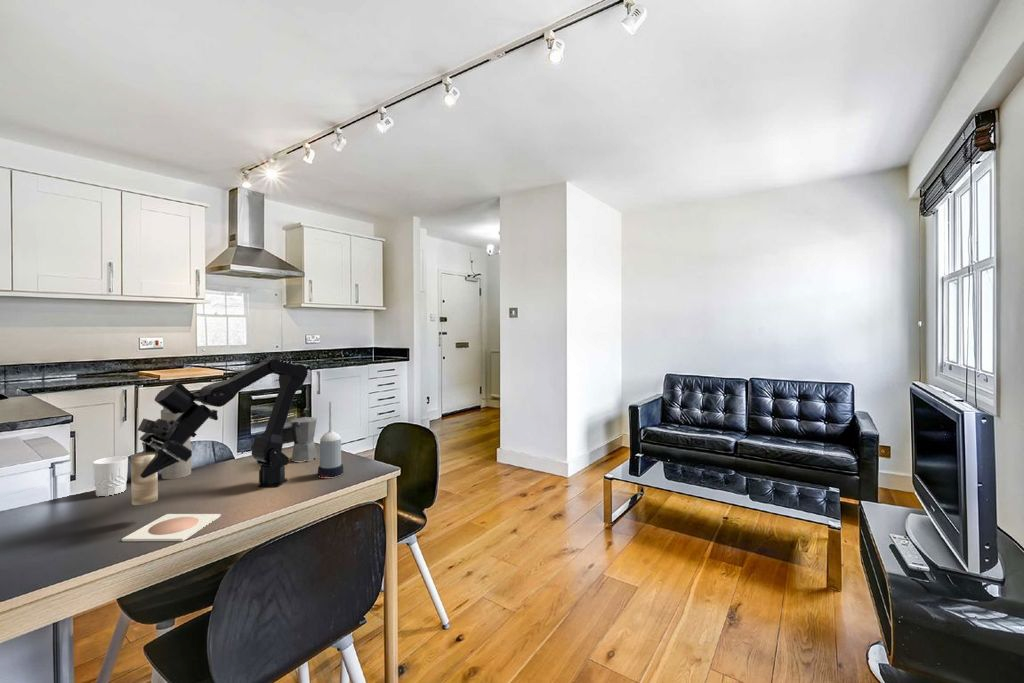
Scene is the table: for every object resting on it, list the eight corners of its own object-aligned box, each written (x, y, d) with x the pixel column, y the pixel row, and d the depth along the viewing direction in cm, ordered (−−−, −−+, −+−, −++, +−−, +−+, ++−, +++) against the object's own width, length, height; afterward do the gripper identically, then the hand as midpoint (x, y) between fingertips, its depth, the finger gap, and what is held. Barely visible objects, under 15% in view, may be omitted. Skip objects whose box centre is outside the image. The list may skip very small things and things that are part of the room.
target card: (220, 516, 119) (220, 513, 119) (182, 541, 105) (182, 538, 105) (166, 516, 119) (166, 513, 119) (121, 541, 105) (121, 538, 105)
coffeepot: (300, 454, 178) (299, 409, 177) (323, 454, 177) (323, 409, 177) (279, 466, 162) (279, 416, 162) (305, 466, 162) (305, 416, 162)
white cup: (107, 488, 139) (107, 456, 138) (135, 487, 139) (134, 455, 139) (85, 498, 131) (85, 464, 131) (114, 497, 131) (114, 463, 131)
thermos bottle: (184, 470, 157) (183, 390, 156) (195, 474, 153) (194, 392, 152) (157, 476, 150) (156, 392, 149) (167, 480, 146) (166, 394, 145)
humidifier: (319, 480, 148) (318, 404, 147) (316, 473, 155) (316, 400, 154) (345, 476, 152) (345, 402, 151) (341, 469, 159) (341, 399, 158)
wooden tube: (162, 496, 118) (161, 451, 118) (149, 504, 113) (149, 457, 113) (140, 497, 117) (139, 452, 117) (126, 505, 112) (125, 457, 112)
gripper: (148, 402, 123) (95, 452, 114) (176, 410, 112) (121, 465, 104) (182, 426, 130) (135, 474, 121) (212, 435, 119) (163, 488, 110)
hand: (137, 475), depth 114 cm, fingers closed on wooden tube, 5 cm apart
